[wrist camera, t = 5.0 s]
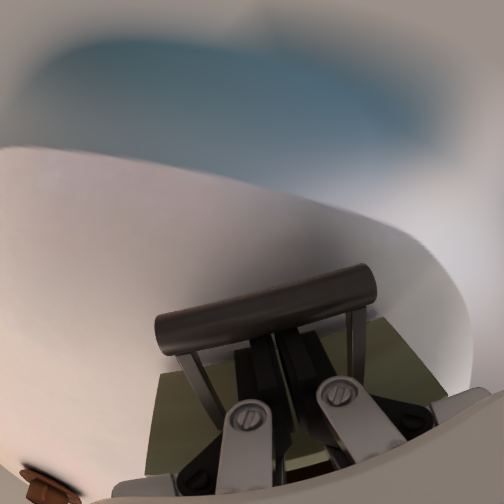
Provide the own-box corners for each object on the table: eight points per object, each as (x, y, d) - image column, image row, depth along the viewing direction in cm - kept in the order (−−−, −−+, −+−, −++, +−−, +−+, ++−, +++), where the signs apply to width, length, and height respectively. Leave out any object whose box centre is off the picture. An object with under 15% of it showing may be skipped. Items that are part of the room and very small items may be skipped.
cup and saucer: (11, 455, 21) (1, 480, 15) (69, 480, 23) (62, 511, 17) (38, 482, 25) (32, 505, 19) (91, 502, 27) (87, 527, 21)
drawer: (112, 281, 12) (50, 380, 6) (382, 213, 13) (485, 268, 6) (228, 470, 20) (234, 531, 14) (369, 433, 20) (395, 489, 14)
